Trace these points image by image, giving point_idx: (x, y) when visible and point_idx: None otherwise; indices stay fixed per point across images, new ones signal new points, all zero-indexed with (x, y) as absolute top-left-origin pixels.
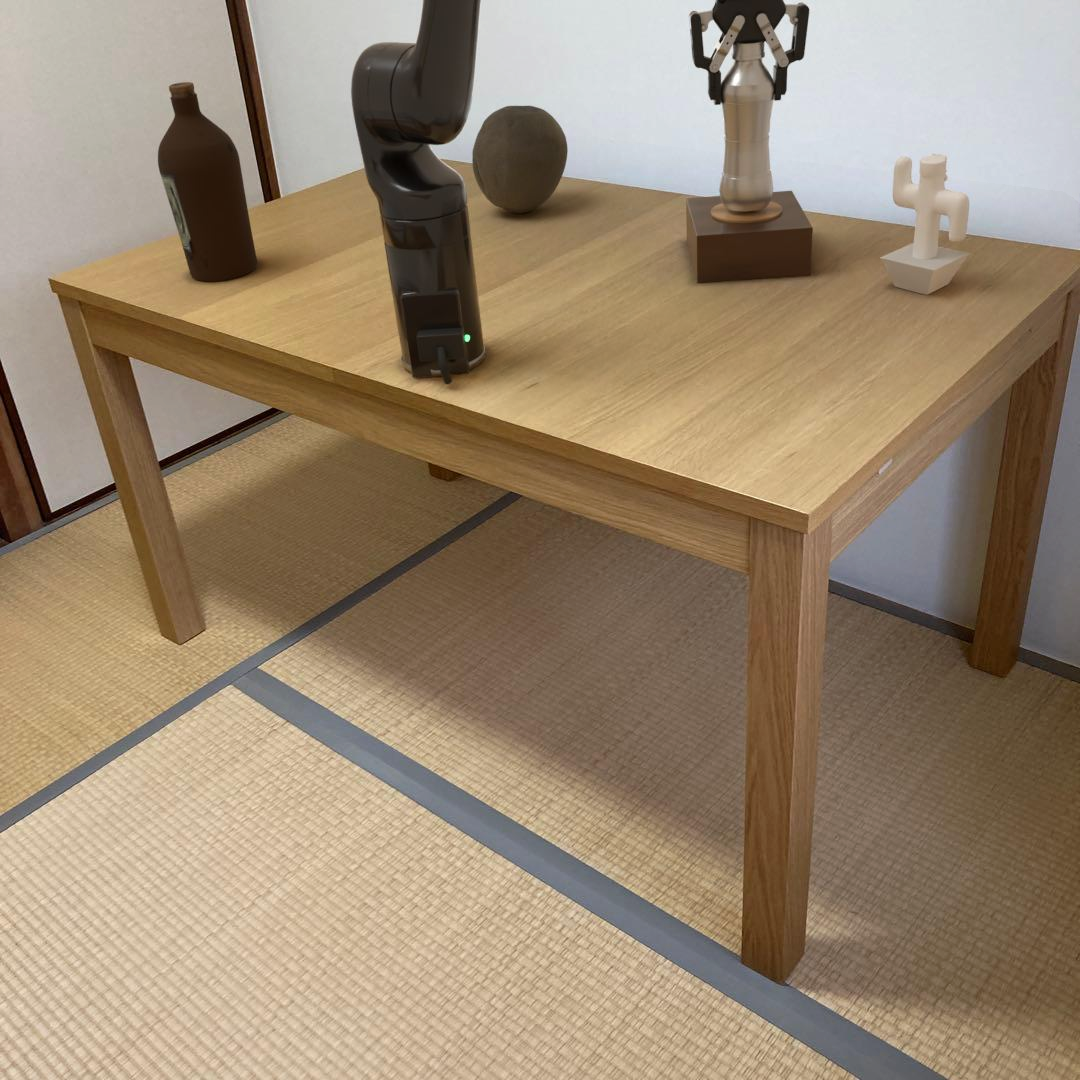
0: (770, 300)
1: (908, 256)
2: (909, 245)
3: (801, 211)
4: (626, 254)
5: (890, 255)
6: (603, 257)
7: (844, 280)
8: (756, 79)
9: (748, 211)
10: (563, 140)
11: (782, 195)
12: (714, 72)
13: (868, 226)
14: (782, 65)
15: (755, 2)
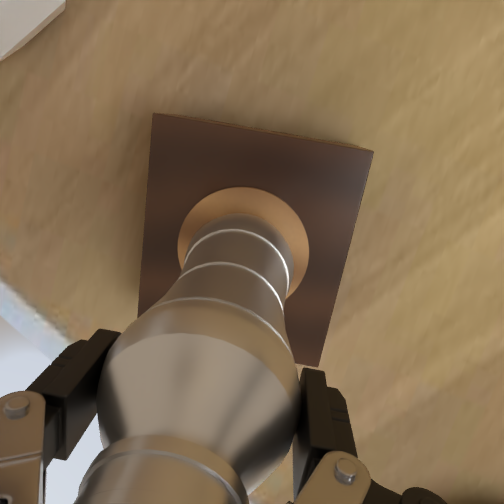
0: (271, 19)
1: None
2: (3, 50)
3: (149, 214)
4: (415, 313)
5: (45, 7)
6: (453, 314)
7: (133, 72)
8: (171, 353)
9: None
10: None
11: None
12: (342, 451)
13: (45, 290)
14: (32, 397)
15: None
